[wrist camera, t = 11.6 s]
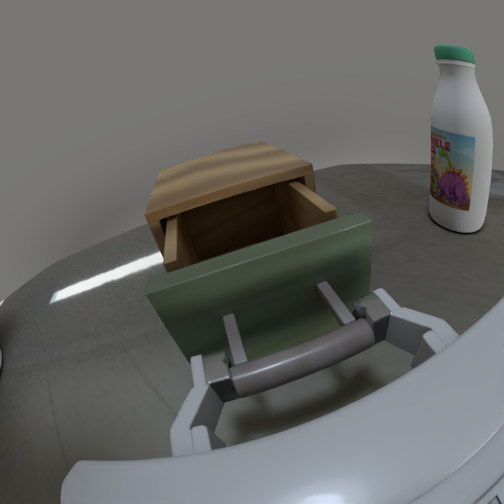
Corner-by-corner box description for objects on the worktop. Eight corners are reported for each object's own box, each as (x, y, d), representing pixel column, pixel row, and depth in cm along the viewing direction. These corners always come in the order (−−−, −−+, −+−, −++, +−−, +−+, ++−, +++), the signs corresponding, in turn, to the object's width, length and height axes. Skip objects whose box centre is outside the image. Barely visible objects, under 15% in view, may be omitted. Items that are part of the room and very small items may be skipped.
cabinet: (323, 267, 24) (312, 163, 19) (189, 312, 23) (144, 214, 18) (274, 209, 36) (259, 140, 31) (184, 237, 35) (159, 170, 30)
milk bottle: (462, 202, 28) (458, 54, 17) (494, 230, 21) (499, 54, 11) (418, 206, 29) (407, 45, 18) (447, 238, 23) (445, 38, 12)
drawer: (401, 371, 13) (434, 266, 9) (214, 444, 12) (139, 375, 8) (294, 234, 28) (282, 162, 24) (189, 269, 27) (161, 199, 23)
